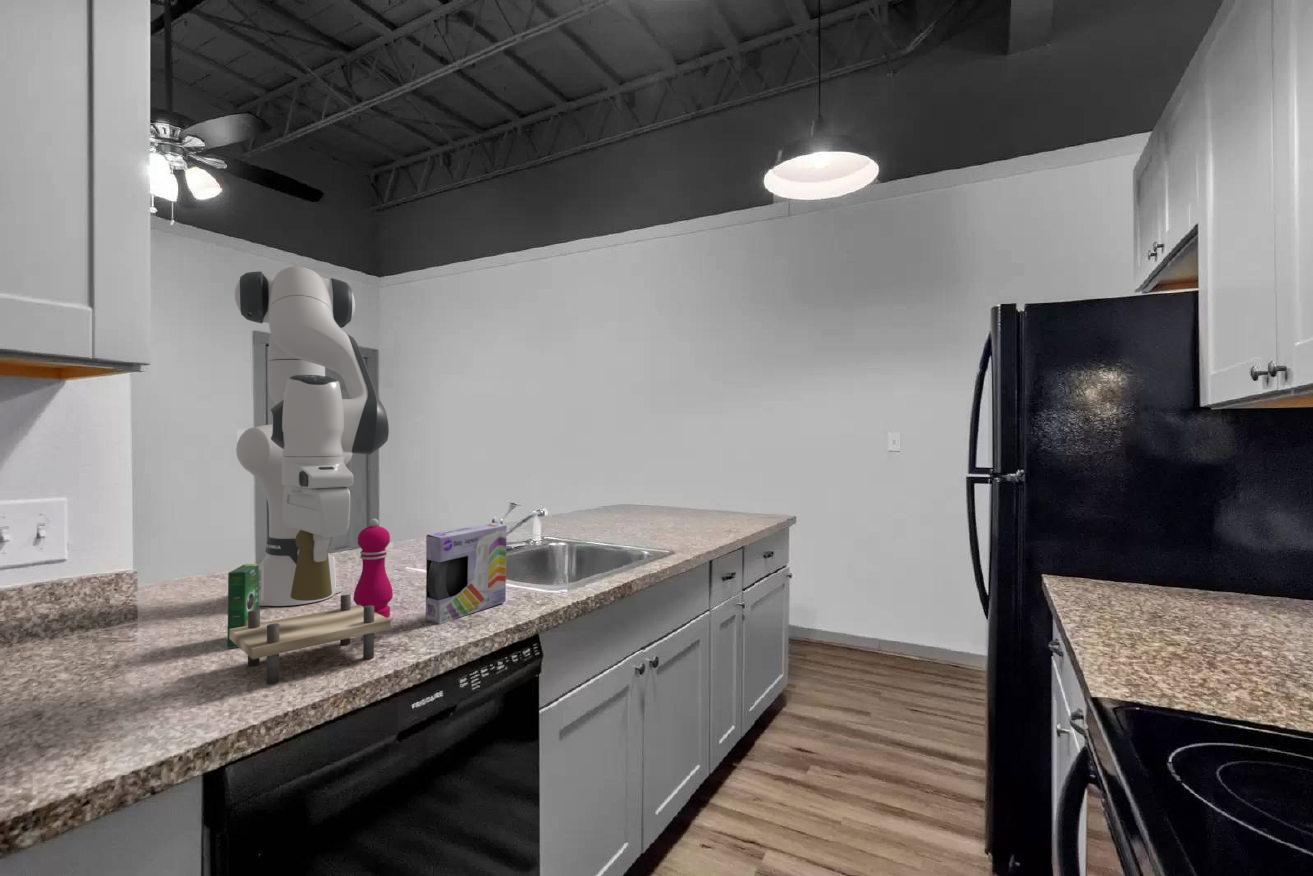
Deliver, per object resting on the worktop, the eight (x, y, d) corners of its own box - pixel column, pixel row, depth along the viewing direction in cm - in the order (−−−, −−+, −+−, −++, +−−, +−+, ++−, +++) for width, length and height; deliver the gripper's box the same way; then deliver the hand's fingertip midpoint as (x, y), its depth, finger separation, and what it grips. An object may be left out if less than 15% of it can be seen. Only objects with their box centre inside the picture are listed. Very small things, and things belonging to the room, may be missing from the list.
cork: (302, 587, 105) (305, 523, 104) (339, 589, 105) (342, 525, 104) (282, 599, 99) (284, 531, 98) (320, 602, 99) (323, 534, 98)
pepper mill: (377, 623, 121) (378, 521, 121) (345, 621, 123) (346, 520, 122) (400, 613, 128) (400, 517, 128) (369, 611, 130) (369, 515, 130)
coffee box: (241, 634, 114) (242, 563, 114) (259, 632, 115) (260, 562, 115) (225, 648, 106) (226, 572, 106) (244, 647, 107) (245, 571, 107)
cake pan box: (435, 626, 120) (436, 535, 120) (419, 622, 123) (420, 533, 123) (508, 604, 136) (508, 523, 136) (491, 600, 139) (492, 522, 139)
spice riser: (229, 666, 98) (229, 613, 98) (359, 637, 113) (359, 591, 113) (252, 690, 89) (252, 631, 89) (390, 655, 104) (390, 605, 104)
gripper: (271, 471, 106) (271, 552, 106) (314, 477, 92) (313, 571, 92) (312, 470, 110) (311, 548, 110) (358, 476, 96) (357, 564, 96)
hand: (313, 558), depth 101 cm, fingers closed on cork, 4 cm apart
